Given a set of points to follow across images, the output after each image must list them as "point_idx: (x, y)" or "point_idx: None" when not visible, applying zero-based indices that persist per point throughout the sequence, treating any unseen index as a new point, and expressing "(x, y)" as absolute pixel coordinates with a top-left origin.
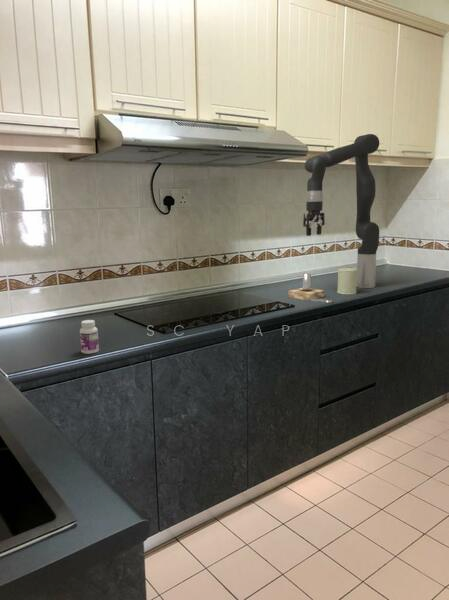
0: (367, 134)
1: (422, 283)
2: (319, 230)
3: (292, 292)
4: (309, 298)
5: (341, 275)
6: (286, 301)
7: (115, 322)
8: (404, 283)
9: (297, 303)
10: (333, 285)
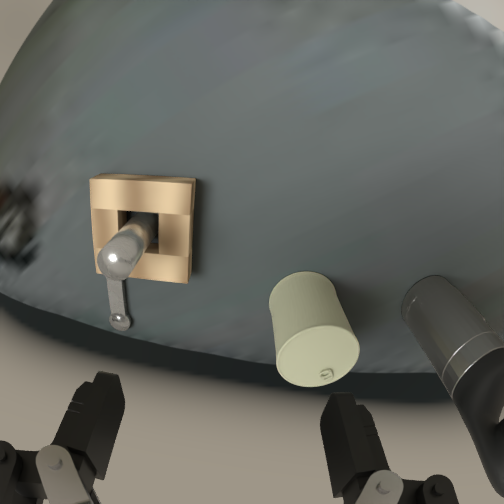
0: None
1: None
2: (330, 453)
3: (91, 198)
4: None
5: (277, 338)
6: (51, 210)
7: None
8: None
9: (54, 253)
10: (422, 200)
